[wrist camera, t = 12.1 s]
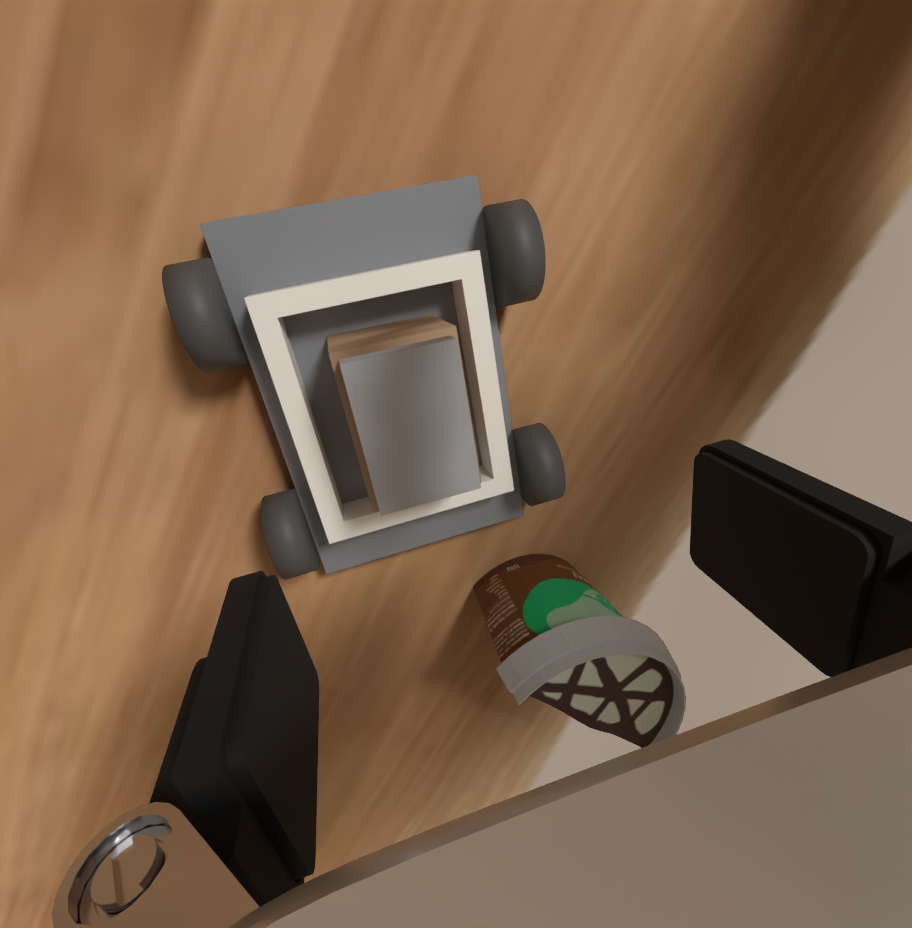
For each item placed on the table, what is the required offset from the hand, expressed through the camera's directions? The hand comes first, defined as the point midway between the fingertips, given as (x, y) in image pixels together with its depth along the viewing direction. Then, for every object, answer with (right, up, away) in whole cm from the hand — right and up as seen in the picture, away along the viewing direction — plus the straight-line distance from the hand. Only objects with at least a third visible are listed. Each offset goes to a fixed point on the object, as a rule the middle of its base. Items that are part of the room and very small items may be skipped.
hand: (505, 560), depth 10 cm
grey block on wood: (-4, +6, +14) cm, 16 cm away
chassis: (-5, +6, +15) cm, 17 cm away
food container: (+5, -6, +23) cm, 25 cm away
